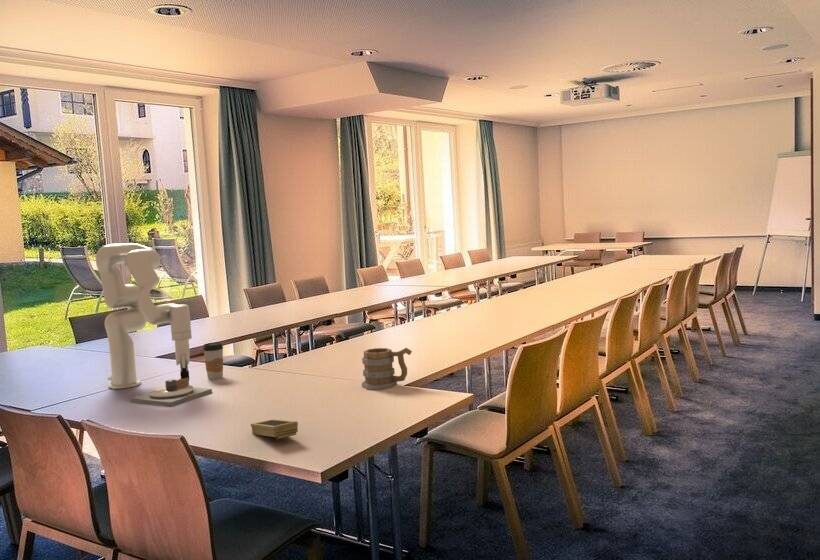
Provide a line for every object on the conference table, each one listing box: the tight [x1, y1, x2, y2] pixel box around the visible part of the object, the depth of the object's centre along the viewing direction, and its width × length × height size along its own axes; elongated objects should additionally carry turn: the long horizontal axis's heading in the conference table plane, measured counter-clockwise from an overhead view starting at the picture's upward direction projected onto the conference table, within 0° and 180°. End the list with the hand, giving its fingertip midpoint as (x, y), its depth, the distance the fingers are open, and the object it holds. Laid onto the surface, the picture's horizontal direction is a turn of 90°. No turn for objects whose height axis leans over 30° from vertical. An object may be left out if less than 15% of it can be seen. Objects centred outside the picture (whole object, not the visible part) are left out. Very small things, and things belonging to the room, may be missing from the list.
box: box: [250, 418, 299, 441], centre depth 210 cm, size 8×22×5 cm, turn 36°
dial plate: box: [130, 386, 213, 407], centre depth 267 cm, size 21×21×2 cm
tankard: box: [361, 347, 413, 391], centre depth 267 cm, size 20×13×15 cm, turn 71°
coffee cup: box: [202, 341, 224, 381], centre depth 297 cm, size 8×8×15 cm
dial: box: [149, 377, 194, 398], centre depth 267 cm, size 16×16×5 cm
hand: (185, 380), depth 277 cm, fingers closed
